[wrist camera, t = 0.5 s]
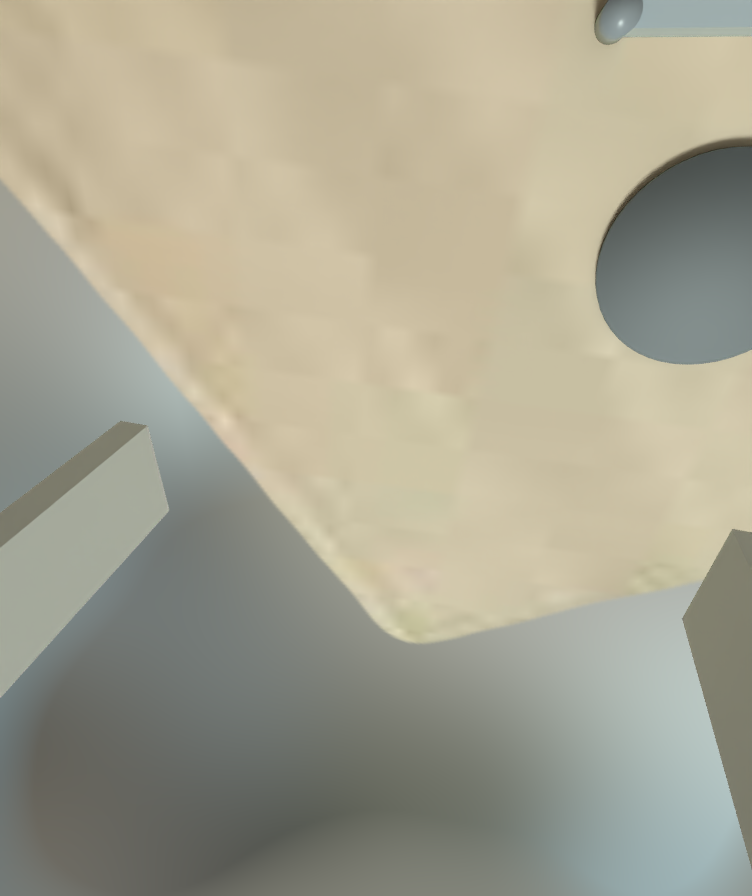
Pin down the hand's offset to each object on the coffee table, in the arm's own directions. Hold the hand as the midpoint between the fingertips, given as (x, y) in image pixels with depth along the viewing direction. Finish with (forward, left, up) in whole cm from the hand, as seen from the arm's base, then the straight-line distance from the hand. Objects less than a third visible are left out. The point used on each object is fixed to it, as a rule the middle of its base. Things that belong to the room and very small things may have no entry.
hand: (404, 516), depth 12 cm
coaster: (-1, +13, -26) cm, 29 cm away
